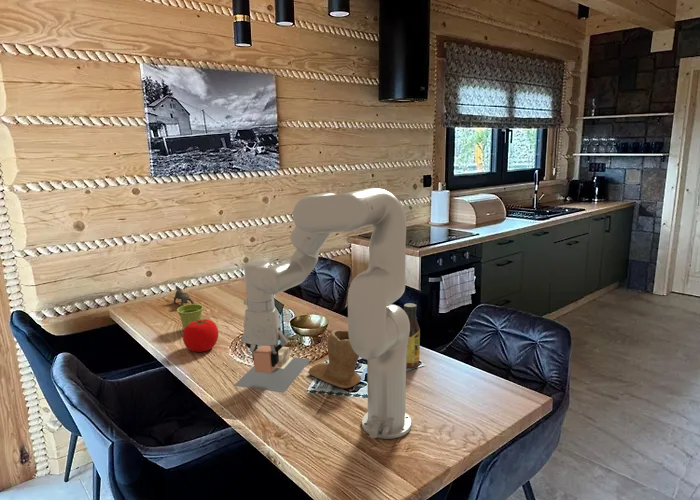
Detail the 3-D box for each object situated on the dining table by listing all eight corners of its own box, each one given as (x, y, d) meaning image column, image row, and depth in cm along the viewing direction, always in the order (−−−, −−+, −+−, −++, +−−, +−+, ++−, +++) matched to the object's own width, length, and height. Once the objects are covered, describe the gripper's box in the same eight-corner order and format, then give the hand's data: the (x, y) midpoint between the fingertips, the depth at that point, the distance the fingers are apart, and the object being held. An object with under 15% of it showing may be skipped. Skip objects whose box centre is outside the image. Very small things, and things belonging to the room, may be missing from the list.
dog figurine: (171, 303, 220) (169, 287, 218) (184, 300, 224) (182, 284, 222) (182, 310, 211) (180, 293, 209) (195, 306, 215) (193, 290, 213)
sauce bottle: (418, 369, 155) (419, 309, 150) (398, 368, 156) (399, 308, 152) (420, 360, 161) (421, 302, 157) (400, 358, 162) (401, 301, 158)
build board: (284, 396, 141) (284, 392, 140) (233, 388, 145) (233, 385, 145) (311, 362, 161) (311, 359, 161) (266, 356, 166) (266, 353, 165)
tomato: (192, 359, 165) (189, 329, 162) (179, 348, 173) (176, 320, 171) (225, 349, 172) (223, 320, 170) (211, 338, 181) (209, 311, 178)
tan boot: (370, 379, 149) (370, 333, 146) (343, 395, 141) (343, 346, 137) (334, 364, 159) (333, 320, 156) (307, 378, 151) (305, 332, 147)
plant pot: (206, 332, 187) (204, 310, 185) (180, 336, 184) (177, 314, 182) (203, 323, 196) (201, 302, 194) (178, 327, 192) (176, 306, 190)
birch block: (282, 366, 156) (281, 355, 155) (264, 364, 158) (263, 353, 157) (289, 358, 161) (289, 347, 161) (272, 356, 163) (272, 345, 162)
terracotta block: (270, 373, 142) (269, 353, 141) (254, 371, 144) (253, 352, 142) (277, 365, 147) (276, 346, 146) (262, 364, 148) (260, 345, 147)
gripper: (227, 307, 140) (233, 367, 144) (283, 310, 135) (287, 372, 139) (240, 299, 147) (246, 356, 151) (293, 302, 142) (298, 361, 146)
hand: (266, 363), depth 145 cm, fingers closed on terracotta block, 4 cm apart
